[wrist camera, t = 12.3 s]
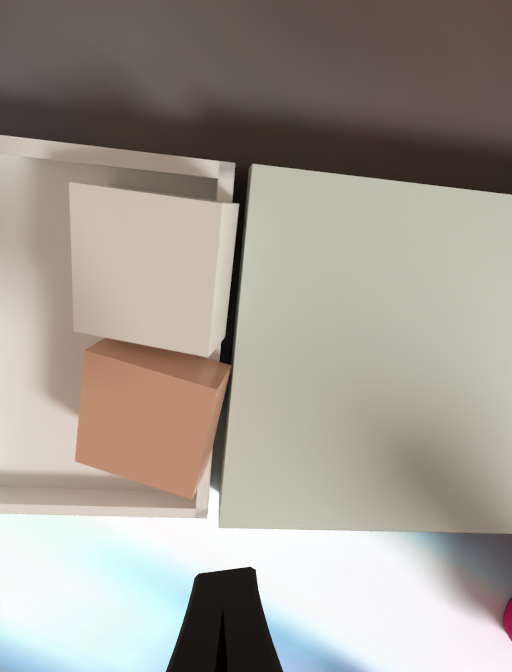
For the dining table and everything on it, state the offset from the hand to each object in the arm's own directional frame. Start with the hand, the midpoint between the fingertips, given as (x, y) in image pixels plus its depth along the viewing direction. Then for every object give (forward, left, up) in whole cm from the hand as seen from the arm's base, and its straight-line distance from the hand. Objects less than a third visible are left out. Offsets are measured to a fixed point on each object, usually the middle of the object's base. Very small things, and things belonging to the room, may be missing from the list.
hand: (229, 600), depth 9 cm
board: (-7, -3, -8) cm, 11 cm away
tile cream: (+3, -7, -7) cm, 10 cm away
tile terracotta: (+3, -1, -7) cm, 8 cm away
